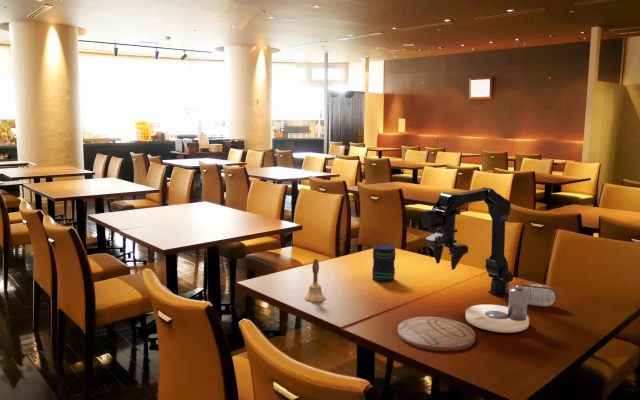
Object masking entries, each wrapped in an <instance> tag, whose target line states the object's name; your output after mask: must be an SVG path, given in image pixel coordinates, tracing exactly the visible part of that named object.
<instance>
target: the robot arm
mask: <svg viewBox="0 0 640 400" xmlns="http://www.w3.org/2000/svg"><path fill="white" fill-rule="evenodd" d="M482 200H483V202H484V203H485V204H486V205H487V211H488V214H489V216H490V218H491V220H492V221H491V249H490V250H491V253H490V256H489V257H488V258H485V266H484V267H485V269H486V273H487V274H488V277H489V278H491V282H490V289H489V290H488V293H490V294H492V295H495V296H497V297H505V296H509V292H510V291H509V285H510V284H509V283H511V282H513V280H514V277H515V276H514V275H513V274H512V272H511V271H510V269H509V263H508V259H507V257H506V256H505V244H506V243H505V242H506V238H505V237H506V220H507V218H508V217H509V215H510V214H511V213H510V212H511V208H512V207H511V206H512V205H511V201H510V200H509V199H507V198H505V197H503V196H502V195H500V194H499V193H497V192H496V191H495V190H494V189H493V188H492V187H485V186H484V187H483V186H482V187H481V188H477V189H472V190H467V191H463V192H441V193H440V195H439V196H438V199H437V201H436V202H435V203H434V205H433V207H432V209H425V210H424V213H423V214H422V215H421V218H420V223H421V225H422V227H423V228H424V229H436V231H435V233H433V234H430V235H429V236H426V238H425V244H426V246H428V247H429V248H430V249H431V250H432V252H433V256H434V258H435V259H434V260H435V263H436V264H440V261H441V259H442V255H443V252H444V247H445V248H448V251H449V252H448V254H449V256H450V260H451V261H450V265H451V266H450V267H451V270H452V271H453V270H455V269H456V267H457V265H458V264H459V263H460V260H461V259H462V258H463V257H464V255H466V254H469V246H468V245H467V244H463V243H461V242H460V243H457V242H458V240H456V239H455V235H456V234H455V233H458V229H456V219H457V218H456V217H457V216H458V215H461V214H462V213H461V211H460V210H458V209H459V208H461V207H462V206H463V205H465V204H469V203H473V202H479V201H482Z"/></svg>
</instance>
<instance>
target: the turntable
mask: <svg viewBox="0 0 640 400" xmlns="http://www.w3.org/2000/svg"><path fill="white" fill-rule="evenodd" d="M465 320H466V321H467V322H468V324H470V325H472V326H474V327H477V328H479V329H482V330H485V331H490V332H496V333H519V332H523V331H526V330H527V329H528V328H529V326H530V318H529V316H528V315H527V314H526V320H524V321H516V320H512V319H510V318H508V306H505V305H501V304H500V305H499V304H476V305H472V306H470V307H468V308H466V310H465Z"/></svg>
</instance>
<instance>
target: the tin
mask: <svg viewBox="0 0 640 400" xmlns="http://www.w3.org/2000/svg"><path fill="white" fill-rule="evenodd" d="M519 285H521V286H523V288H525V289H527V290H528V302H527V306H533V307H542V308H551V307H553V306H554V305H555V304H556V303H557V301H558V292H557V290H556V289H555V288H554V287H553V286H552V285H549V284H541V283H533V282H522V283H519Z"/></svg>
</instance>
